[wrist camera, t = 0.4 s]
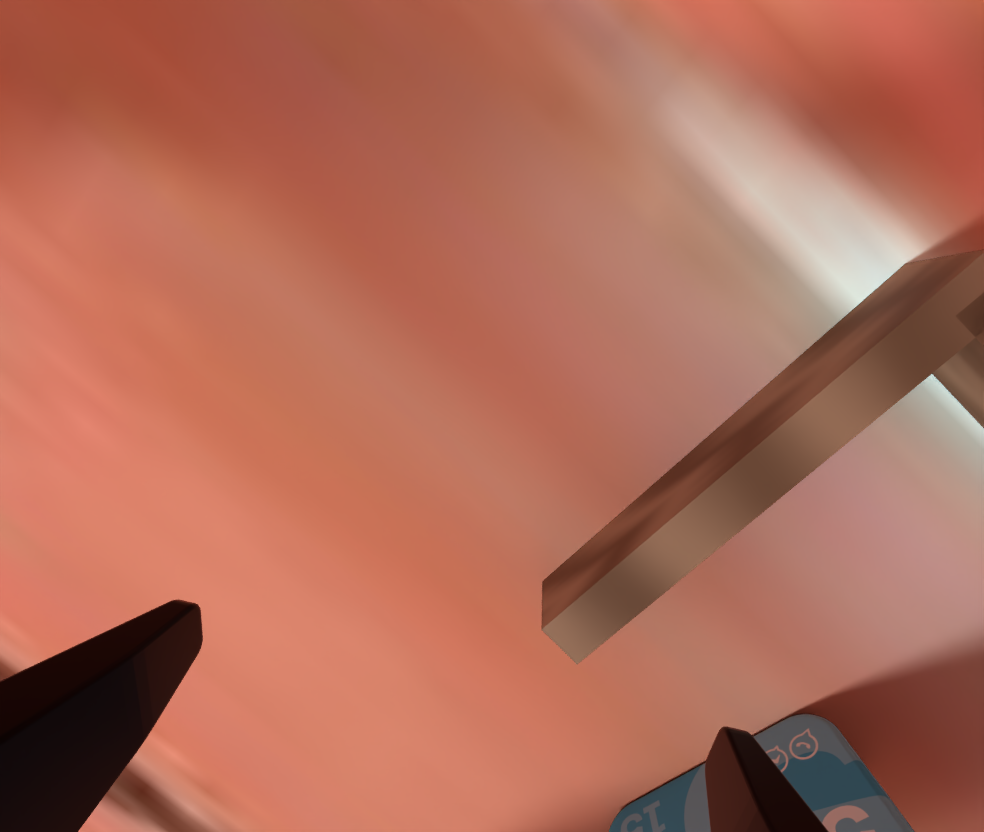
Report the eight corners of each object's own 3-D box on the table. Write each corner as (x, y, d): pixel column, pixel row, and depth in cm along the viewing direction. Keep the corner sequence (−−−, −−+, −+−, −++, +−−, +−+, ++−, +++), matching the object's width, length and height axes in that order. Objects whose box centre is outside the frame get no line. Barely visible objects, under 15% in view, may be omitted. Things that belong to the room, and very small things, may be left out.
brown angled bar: (902, 937, 26) (966, 1047, 22) (542, 581, 25) (541, 629, 21) (1310, 696, 22) (1476, 776, 18) (905, 263, 21) (988, 248, 17)
